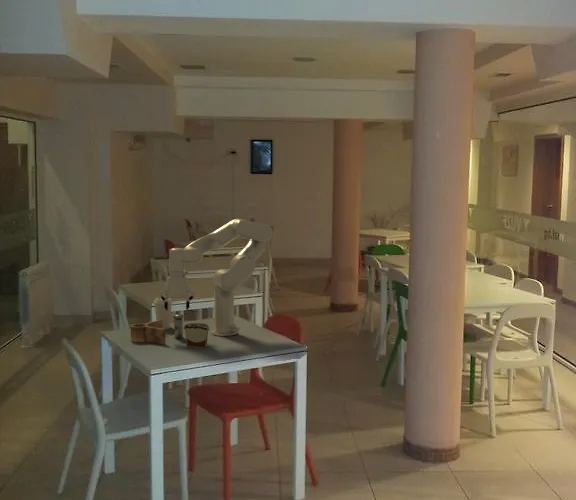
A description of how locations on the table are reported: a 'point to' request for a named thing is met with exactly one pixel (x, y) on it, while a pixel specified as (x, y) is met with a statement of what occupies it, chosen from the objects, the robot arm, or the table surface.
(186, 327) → the food container
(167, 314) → the coffee cup
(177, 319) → the pin
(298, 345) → the table surface
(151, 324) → the hinge
